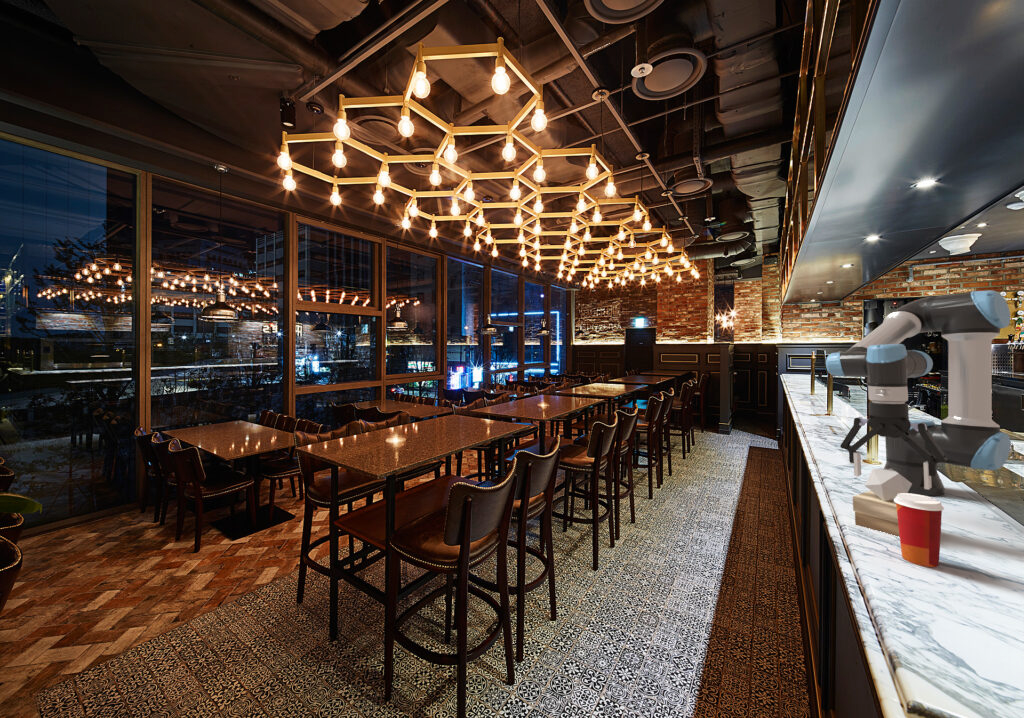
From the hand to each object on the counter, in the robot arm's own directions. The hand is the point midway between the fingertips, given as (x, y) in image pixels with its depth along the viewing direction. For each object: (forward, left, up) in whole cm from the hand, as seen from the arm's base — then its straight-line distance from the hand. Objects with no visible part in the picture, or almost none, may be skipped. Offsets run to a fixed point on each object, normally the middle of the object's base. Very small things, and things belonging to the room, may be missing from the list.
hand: (890, 481), depth 102 cm
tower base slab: (0, 0, -13) cm, 13 cm away
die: (+1, -1, -5) cm, 5 cm away
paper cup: (+18, +8, -12) cm, 23 cm away
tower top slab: (0, 0, -9) cm, 9 cm away
